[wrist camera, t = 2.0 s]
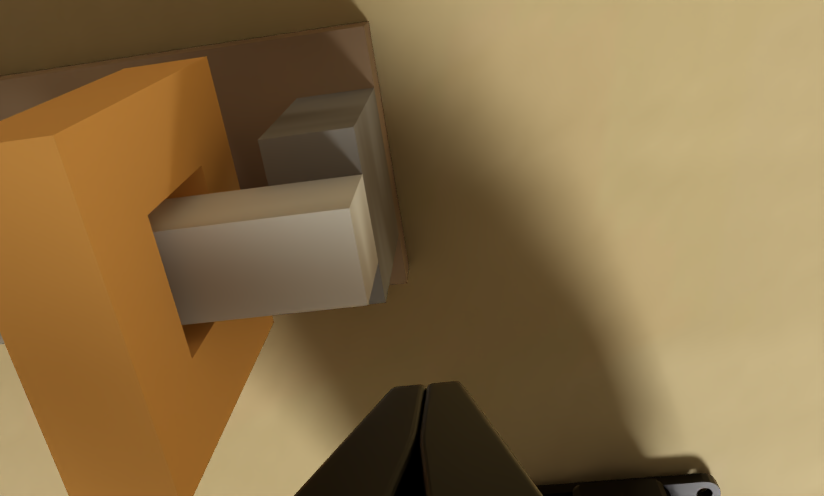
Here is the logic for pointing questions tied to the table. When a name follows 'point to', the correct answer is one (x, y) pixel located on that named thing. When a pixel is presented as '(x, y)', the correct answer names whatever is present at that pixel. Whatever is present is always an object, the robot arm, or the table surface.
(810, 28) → the table surface
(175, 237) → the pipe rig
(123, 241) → the collar
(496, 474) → the robot arm
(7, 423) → the table surface
